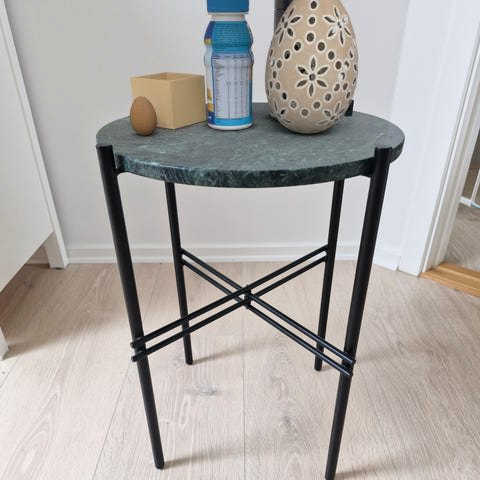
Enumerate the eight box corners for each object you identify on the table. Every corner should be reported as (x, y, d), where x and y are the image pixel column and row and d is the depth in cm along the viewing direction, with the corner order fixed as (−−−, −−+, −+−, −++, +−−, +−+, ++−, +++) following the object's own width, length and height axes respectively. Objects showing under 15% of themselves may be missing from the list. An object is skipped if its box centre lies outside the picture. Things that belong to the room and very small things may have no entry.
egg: (131, 139, 74) (125, 99, 71) (133, 132, 78) (127, 94, 74) (158, 138, 74) (154, 98, 71) (159, 132, 78) (155, 93, 75)
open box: (170, 114, 90) (166, 71, 86) (206, 120, 86) (204, 75, 81) (135, 123, 84) (130, 77, 80) (173, 129, 80) (169, 81, 75)
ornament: (311, 120, 85) (322, -11, 74) (368, 135, 75) (391, -14, 63) (247, 130, 79) (247, -12, 67) (300, 148, 68) (311, -16, 57)
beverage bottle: (230, 133, 77) (228, -13, 65) (197, 126, 81) (189, -11, 70) (262, 125, 82) (265, -12, 70) (229, 119, 86) (227, -10, 75)
